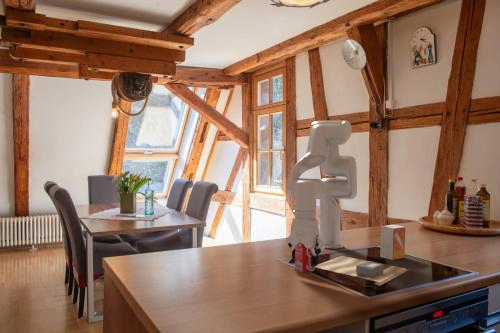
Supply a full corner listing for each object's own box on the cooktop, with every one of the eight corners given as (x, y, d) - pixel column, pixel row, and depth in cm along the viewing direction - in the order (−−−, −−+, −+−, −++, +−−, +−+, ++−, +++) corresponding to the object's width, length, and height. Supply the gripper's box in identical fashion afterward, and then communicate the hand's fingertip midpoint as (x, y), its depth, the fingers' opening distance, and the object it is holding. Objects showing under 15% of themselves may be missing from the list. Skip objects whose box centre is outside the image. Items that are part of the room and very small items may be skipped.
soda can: (316, 271, 149) (316, 238, 148) (312, 276, 142) (313, 242, 142) (297, 269, 151) (297, 236, 151) (292, 274, 144) (293, 240, 144)
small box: (392, 260, 165) (393, 228, 165) (379, 257, 170) (380, 226, 170) (405, 257, 170) (405, 226, 169) (392, 254, 175) (393, 224, 174)
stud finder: (356, 274, 142) (356, 264, 141) (367, 269, 147) (368, 260, 147) (372, 277, 137) (372, 268, 137) (383, 273, 143) (383, 264, 143)
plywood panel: (312, 269, 150) (312, 266, 150) (342, 258, 167) (342, 255, 167) (379, 285, 133) (380, 282, 133) (405, 271, 149) (405, 268, 149)
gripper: (279, 213, 149) (279, 261, 149) (320, 218, 137) (319, 270, 138) (291, 211, 154) (291, 257, 155) (332, 216, 143) (331, 266, 143)
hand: (304, 263), depth 146 cm, fingers open, 7 cm apart
